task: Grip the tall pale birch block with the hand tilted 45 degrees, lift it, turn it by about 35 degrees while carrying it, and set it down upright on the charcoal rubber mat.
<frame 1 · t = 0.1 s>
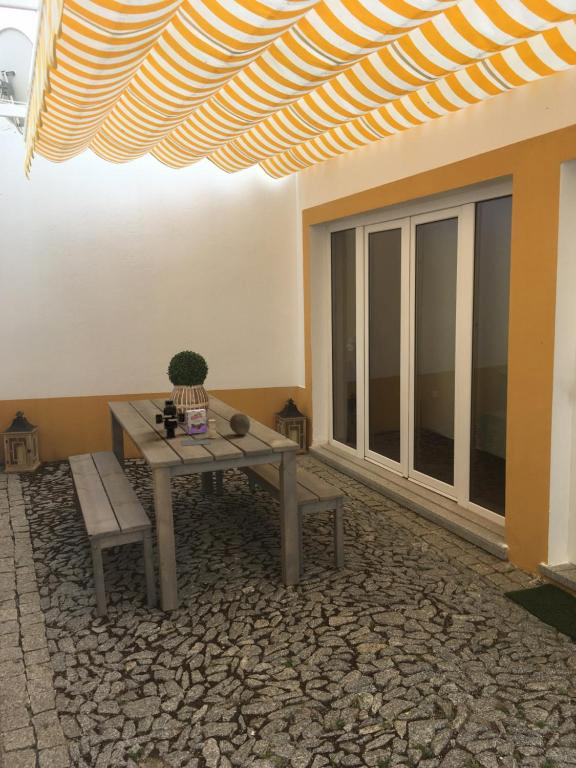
hand: (170, 420, 414), 17 cm above the table, tool horizontal, fingers open, 9 cm apart
birch block: (212, 437, 437), on the table
rubber mat: (196, 442, 424), on the table
candy box: (196, 433, 452), on the table
cantaloupe: (240, 435, 443), on the table
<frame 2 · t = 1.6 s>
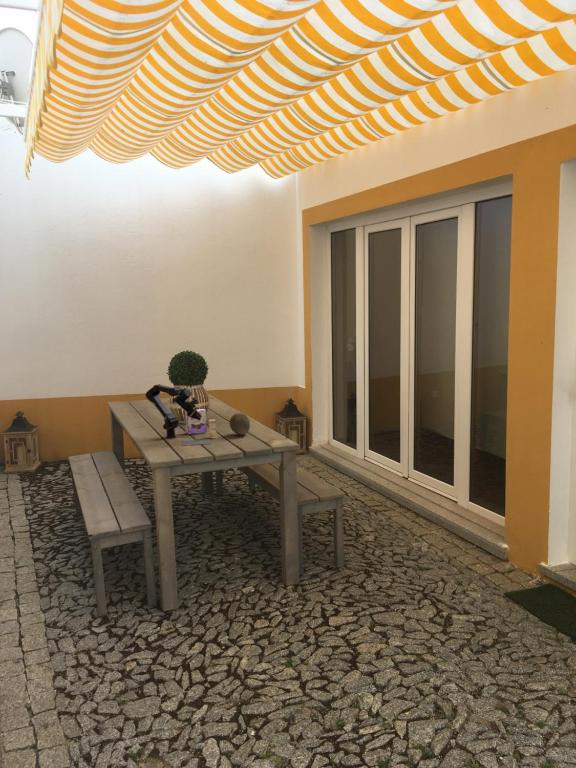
hand: (200, 418, 433), 14 cm above the table, tool tilted 45°, fingers open, 9 cm apart
nothing on the table moved.
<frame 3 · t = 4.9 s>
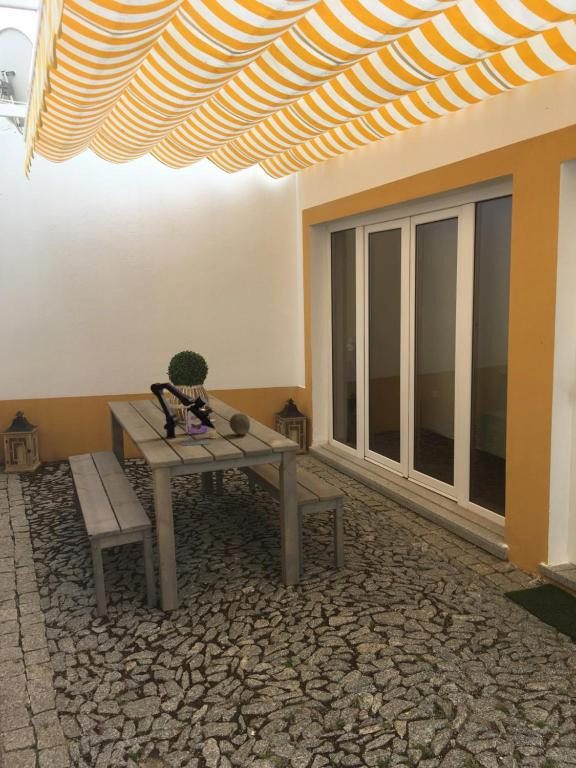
hand: (214, 427, 436), 7 cm above the table, tool tilted 45°, fingers closed on birch block, 5 cm apart
birch block: (212, 437, 437), on the table, touching gripper
everything else where it was.
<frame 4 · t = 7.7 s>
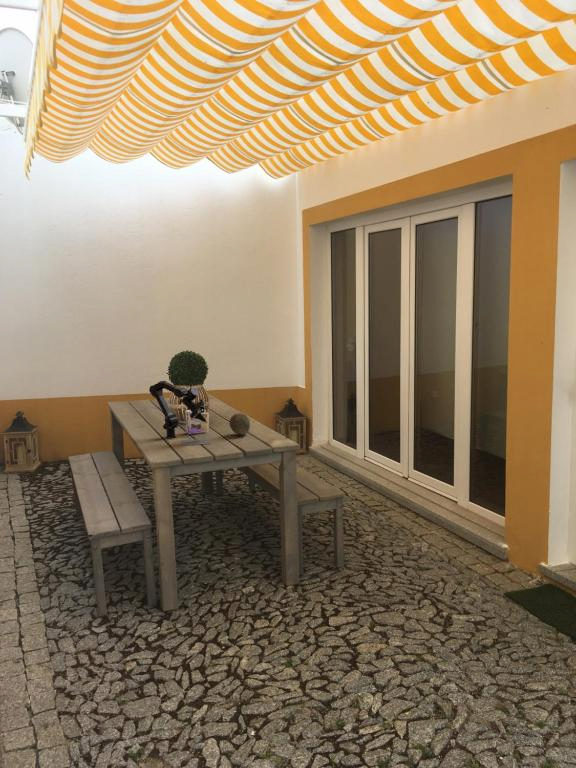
hand: (206, 420, 427), 13 cm above the table, tool tilted 45°, fingers closed on birch block, 5 cm apart
birch block: (205, 431, 429), point 6 cm above the table, touching gripper
everything else where it was.
when the fingers open (8 cm above the table, at t = 10.3 s): birch block stays where it is, resting on rubber mat.
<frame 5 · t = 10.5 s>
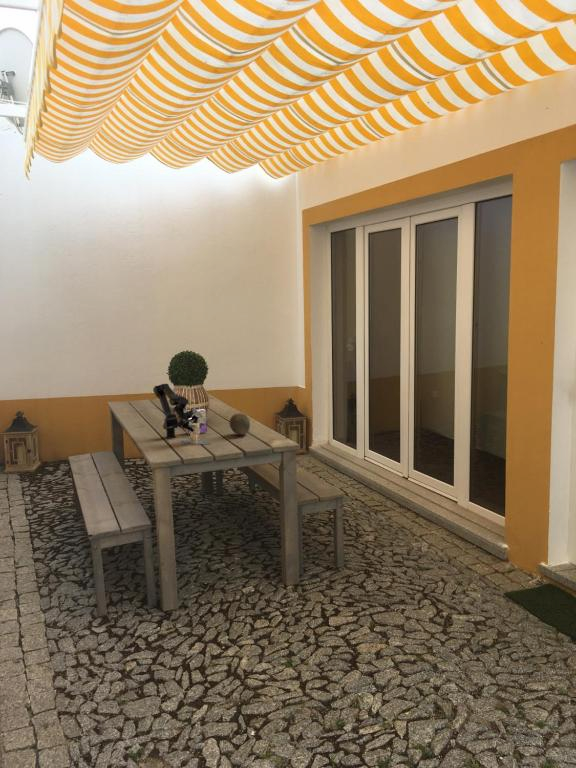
hand: (196, 430, 422), 8 cm above the table, tool tilted 45°, fingers open, 7 cm apart
birch block: (195, 442, 424), resting on rubber mat
everything else where it was.
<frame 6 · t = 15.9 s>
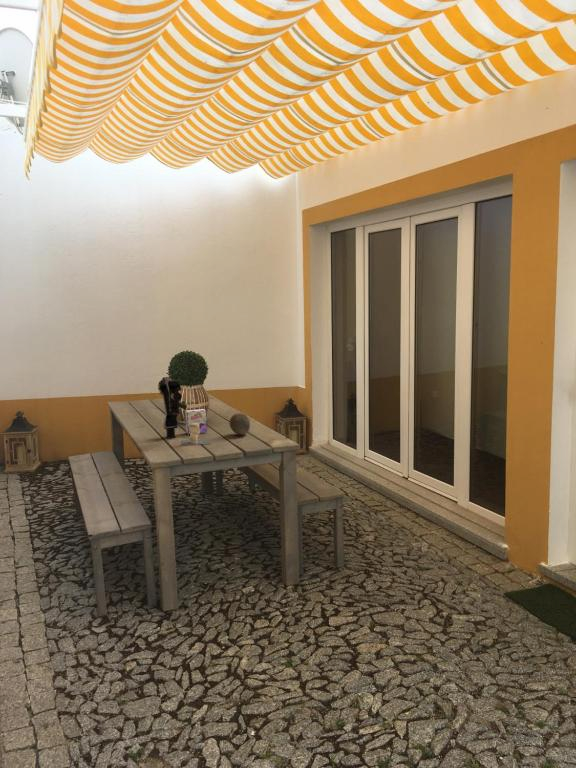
hand: (174, 422, 427), 13 cm above the table, tool pointing down, fingers open, 9 cm apart
nothing on the table moved.
at the end: birch block inside the target area on the rubber mat (0.5 cm from its centre), point 0.4 cm above the rubber mat's base; birch block tilted 0°; the gripper is holding nothing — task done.
